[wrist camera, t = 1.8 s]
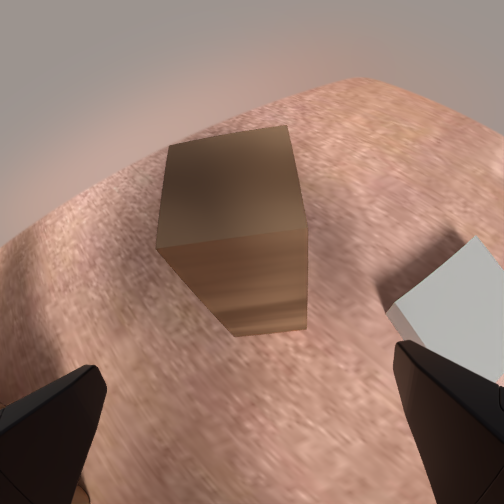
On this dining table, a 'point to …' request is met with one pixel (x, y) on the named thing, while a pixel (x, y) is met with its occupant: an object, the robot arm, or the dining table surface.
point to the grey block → (458, 311)
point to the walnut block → (238, 229)
